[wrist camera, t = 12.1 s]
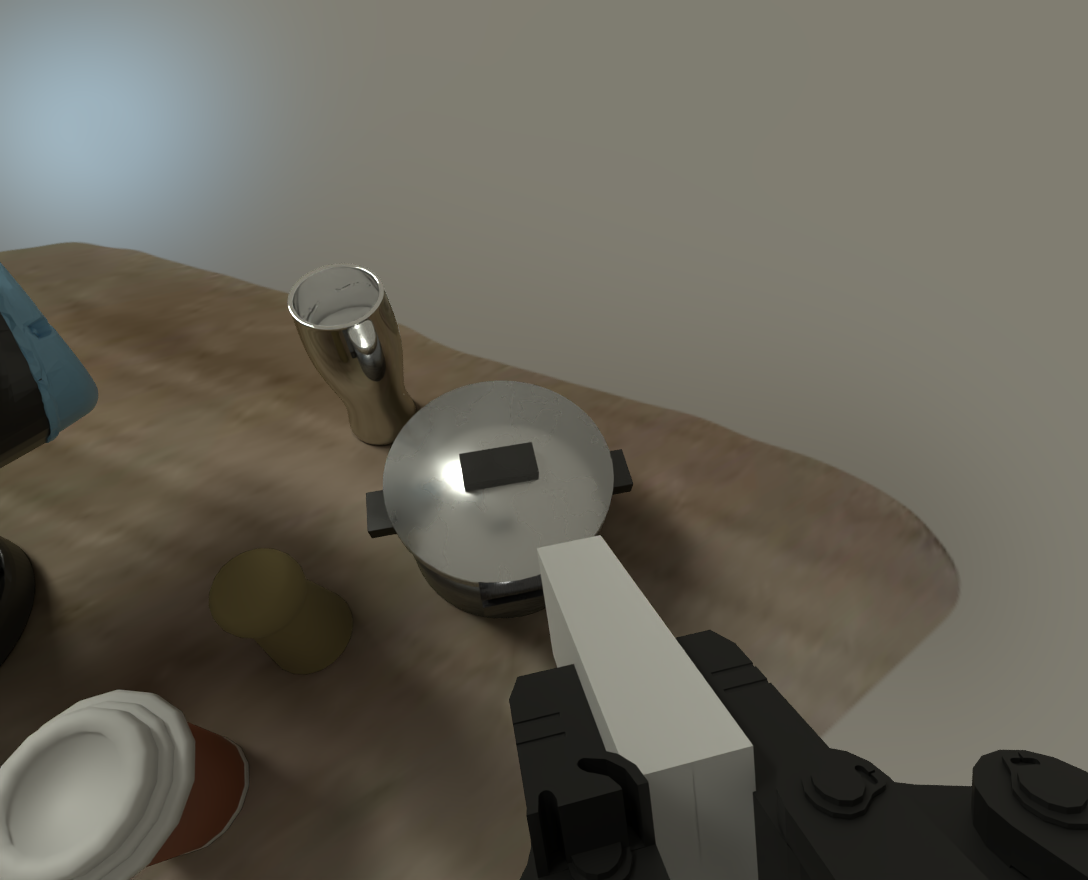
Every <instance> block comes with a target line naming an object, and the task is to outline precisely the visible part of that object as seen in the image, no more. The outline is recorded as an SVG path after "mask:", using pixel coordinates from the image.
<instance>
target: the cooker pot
mask: <svg viewBox="0 0 1088 880" xmlns="http://www.w3.org/2000/svg"><path fill="white" fill-rule="evenodd" d="M610 455H611V459H612V463H613V474H614V482H613V492H612V495H613V494H619V493H624V492H630V491H631V489H632V486H633V482H632V479H631V476H630V473H629V470H628V467H627V464H626V461H625V458H624V455H623V452H622V449H621V450H615V451H610ZM366 504H367V528H368V533H369V534H370V536H371V538H376V537H382V536H387V535H393V534H397V533H396V531H395V529H394V527H393V525H392V522H391V520H390V518H389V516H388V513H387V509H386V506H385V501H384V494H383V490H381V491H375V492H369V493H366ZM414 558H415V557H414ZM415 560H416V562H417V564H418V566H419V568H420V570H421V572H422V574H423V576H424V577H425V579H426V580H427V582H428V583H429V585H430V586H431V587H432V588H433V589H434V590H435V591H436V592H437V594H439V595H440V596H441V597H442V598H443V599H445V600H446V601H447V602H449V603H450V604H452V605H454V606H455V607H457V608H459V609H461V610H464V611H466V612H468V613H471V614H475V615H479V616H482V617H490V618H513V617H520V616H524V615H528V614H532V613H535V612H537V611H539V610H542V609H544V608H546V605H545V599H544V592H543V589H540V590H535V591H530V592H525V593H520V594H515V595H510V596H505V597H500V598H495V599H490V600H485V601H481V596H480V590H479V587H472V586H468V585H464V584H460V583H457V582H454V581H452V580H449V579H447V578H444V577H442V576H440V575H438V574H437V573H435V572H433V571H432V570H430V569H428V568H427V567H426V566H424V565H423V564H422V563H421V562H419V561H418V560H417V559H416V558H415Z"/></svg>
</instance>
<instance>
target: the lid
mask: <svg viewBox="0 0 1088 880" xmlns="http://www.w3.org/2000/svg"><path fill="white" fill-rule="evenodd" d="M613 482H614V474H613V463H612V459H611V455H610V451H609V449H608V446H607V444H606V441H605V439H604V437H603V435H602V434H601V432H600V430H599V428H598V427H597V426H596V425H595V423H594V422H593V421H592V419H591V418H590V417H589V416H588V415H587V414H586V413H585V412H584V411H583V410H582V409H581V408H579V407H578V406H577V405H575V404H574V403H573V402H572V401H570V400H568V399H567V398H565V397H563V396H562V395H560V394H558V393H556V392H553V391H551V390H549V389H546V388H543V387H540V386H537V385H533V384H528V383H524V382H515V381H489V382H481V383H476V384H471V385H467V386H464V387H461V388H457V389H455V390H452V391H450V392H448V393H445V394H443V395H442V396H440V397H438V398H436V399H434V400H433V401H431V402H430V403H428V404H427V405H426V406H424V407H423V408H422V409H420V410H419V411H418V412H417V413H416V414H415V415H414V416H413V417H412V418H411V419H410V420H409V421H408V422H407V423H406V425H405V426H404V427H403V428H402V430H401V431H400V433H399V434H398V436H397V437H396V439H395V441H394V443H393V445H392V447H391V449H390V451H389V454H388V457H387V460H386V463H385V469H384V475H383V494H384V501H385V506H386V509H387V513H388V516H389V518H390V520H391V522H392V525H393V527H394V529H395V531H396V533H397V535H398V537H399V538H400V540H401V541H402V543H403V544H404V545H405V547H406V548H407V549H408V551H409V552H410V553H411V554H412V555H413V556H414V557H415V558H416V559H417V560H418V561H419V562H421V563H422V564H423V565H424V566H426V567H427V568H428V569H430V570H432V571H433V572H435V573H437V574H438V575H440V576H442V577H444V578H447V579H449V580H452V581H454V582H457V583H460V584H464V585H468V586H472V587H479V590H480V596H481V601H485V600H490V599H495V598H500V597H505V596H510V595H515V594H520V593H525V592H530V591H535V590H540V589H543V586H542V579H541V573H540V566H539V560H538V554H537V548H540V547H545V546H550V545H555V544H560V543H564V542H569V541H574V540H579V539H584V538H589V537H594V536H597V535H598V533H599V531H600V529H601V527H602V525H603V523H604V521H605V518H606V515H607V513H608V510H609V506H610V502H611V497H612V492H613Z"/></svg>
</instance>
